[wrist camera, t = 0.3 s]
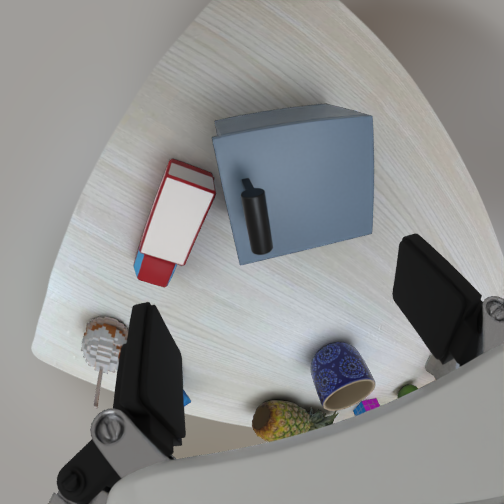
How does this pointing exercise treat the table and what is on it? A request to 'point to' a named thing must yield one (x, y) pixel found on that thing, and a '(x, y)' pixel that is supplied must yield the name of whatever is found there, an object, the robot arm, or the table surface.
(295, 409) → the fruit
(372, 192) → the lid
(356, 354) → the planter
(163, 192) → the toy truck
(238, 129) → the blue open box
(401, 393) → the avocado
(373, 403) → the puzzle toy
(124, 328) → the candy apple
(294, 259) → the table surface
